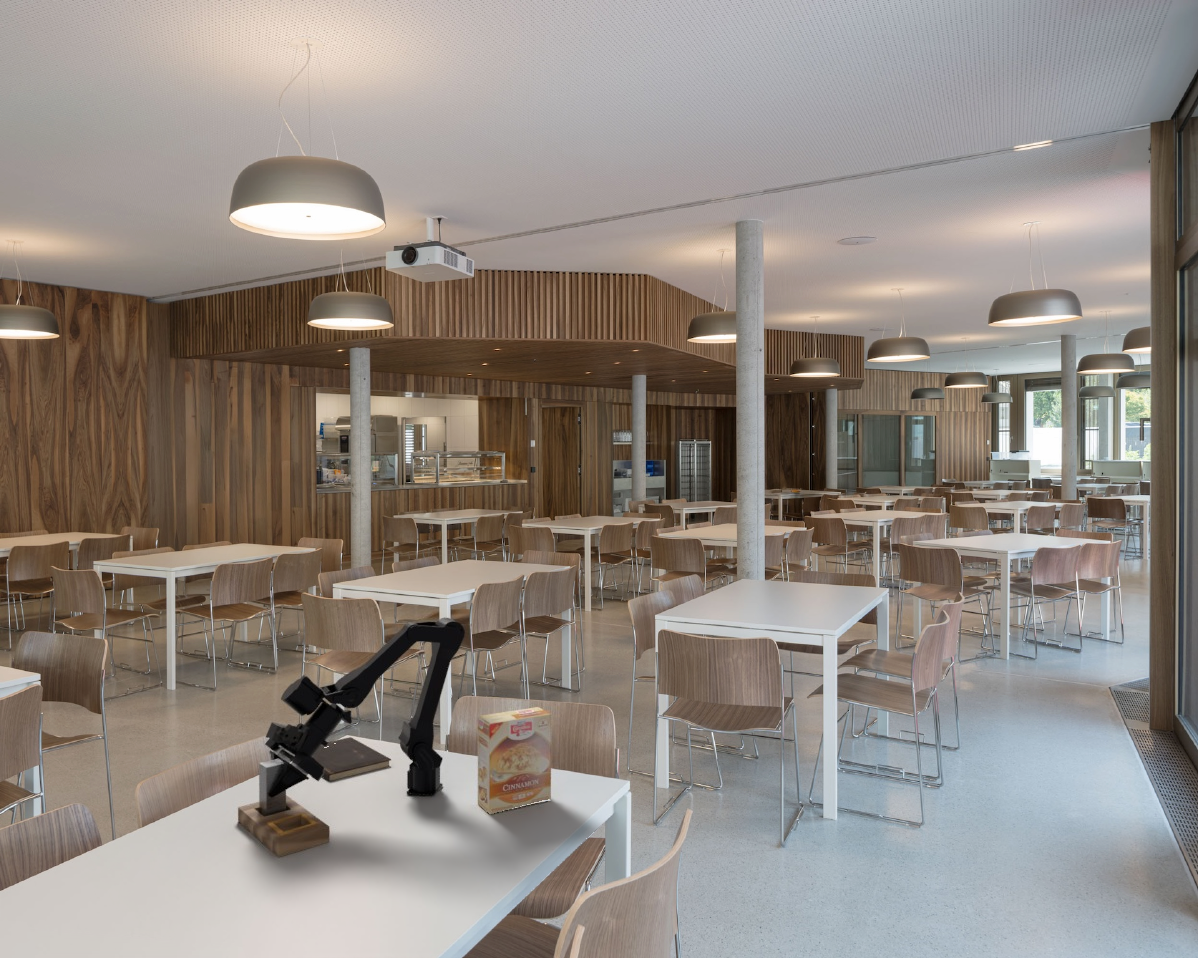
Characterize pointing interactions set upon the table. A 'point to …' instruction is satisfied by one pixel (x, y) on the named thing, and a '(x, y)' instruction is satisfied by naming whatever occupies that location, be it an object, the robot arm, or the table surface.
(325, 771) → the hardcover book
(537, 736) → the coffeecake box
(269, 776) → the peg
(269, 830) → the wooden peg holder
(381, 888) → the table surface
